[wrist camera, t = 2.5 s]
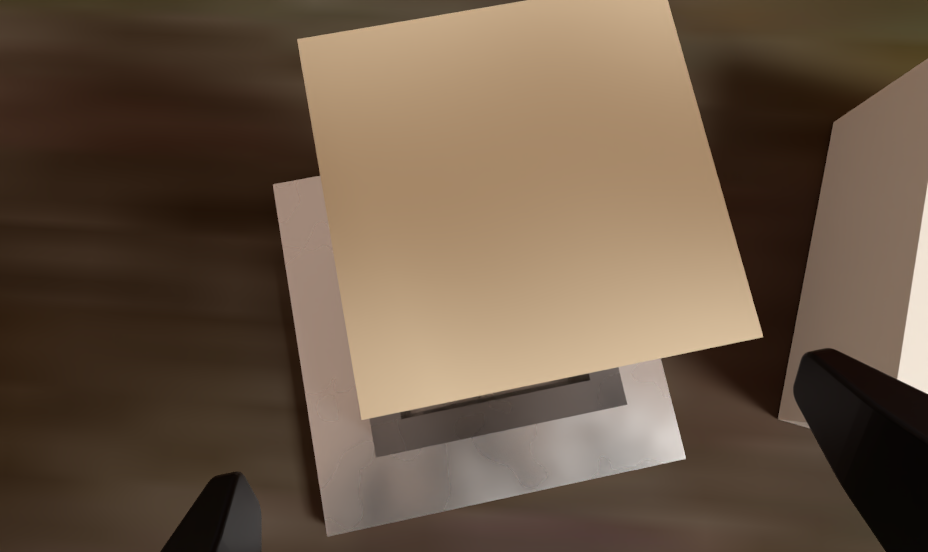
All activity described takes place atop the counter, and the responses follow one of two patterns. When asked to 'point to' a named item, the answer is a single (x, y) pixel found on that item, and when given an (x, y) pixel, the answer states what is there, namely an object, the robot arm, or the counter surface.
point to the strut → (519, 199)
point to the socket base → (451, 411)
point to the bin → (871, 242)
